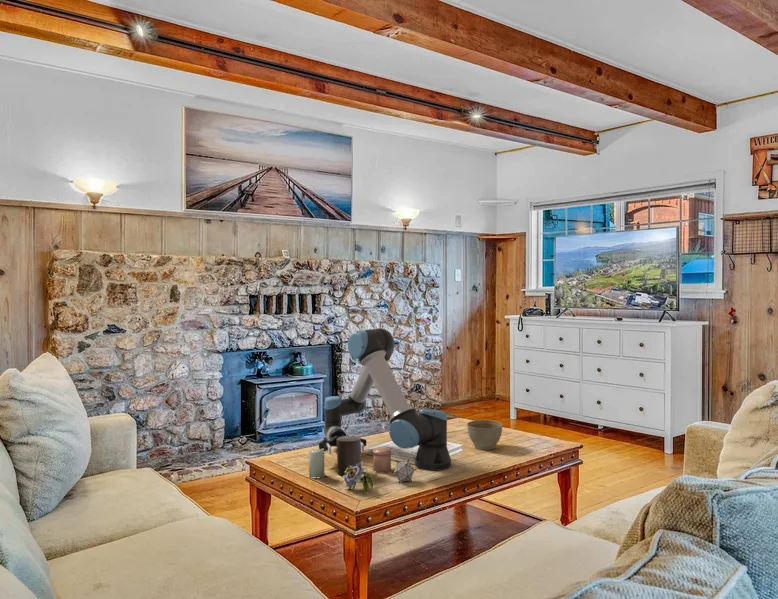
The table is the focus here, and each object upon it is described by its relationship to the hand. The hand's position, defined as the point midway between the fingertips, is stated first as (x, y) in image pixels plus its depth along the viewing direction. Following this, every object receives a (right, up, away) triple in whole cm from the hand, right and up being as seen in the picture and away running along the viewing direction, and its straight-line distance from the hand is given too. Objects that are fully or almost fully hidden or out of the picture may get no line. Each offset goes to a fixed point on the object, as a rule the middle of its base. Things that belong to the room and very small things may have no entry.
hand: (346, 449), depth 245 cm
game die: (+23, -9, -14) cm, 29 cm away
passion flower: (+6, -9, -22) cm, 24 cm away
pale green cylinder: (-11, -9, -7) cm, 16 cm away
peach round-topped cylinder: (+15, -8, 0) cm, 17 cm away
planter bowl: (+61, -7, +32) cm, 70 cm away
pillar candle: (+2, -9, -4) cm, 9 cm away
